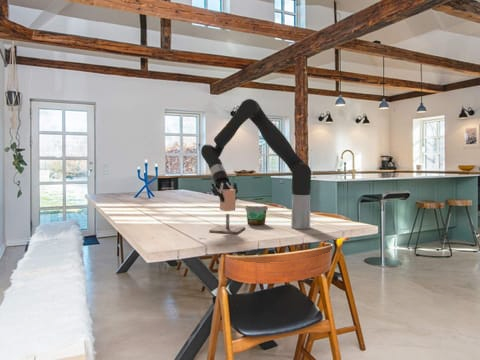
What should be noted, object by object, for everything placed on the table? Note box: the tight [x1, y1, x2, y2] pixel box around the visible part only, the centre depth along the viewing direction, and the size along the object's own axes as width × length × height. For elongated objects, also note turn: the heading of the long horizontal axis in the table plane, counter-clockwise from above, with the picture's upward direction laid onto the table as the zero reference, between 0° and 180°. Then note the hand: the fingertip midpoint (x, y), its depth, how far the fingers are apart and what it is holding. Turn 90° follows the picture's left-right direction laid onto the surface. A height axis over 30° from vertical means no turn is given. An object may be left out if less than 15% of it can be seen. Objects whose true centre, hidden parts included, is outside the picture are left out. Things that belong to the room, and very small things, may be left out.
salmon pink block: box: [219, 189, 236, 212], centre depth 170 cm, size 6×6×10 cm
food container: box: [244, 205, 269, 227], centre depth 186 cm, size 12×6×10 cm, turn 76°
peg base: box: [208, 213, 246, 235], centre depth 171 cm, size 14×13×8 cm
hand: (229, 200), depth 169 cm, fingers closed on salmon pink block, 5 cm apart
